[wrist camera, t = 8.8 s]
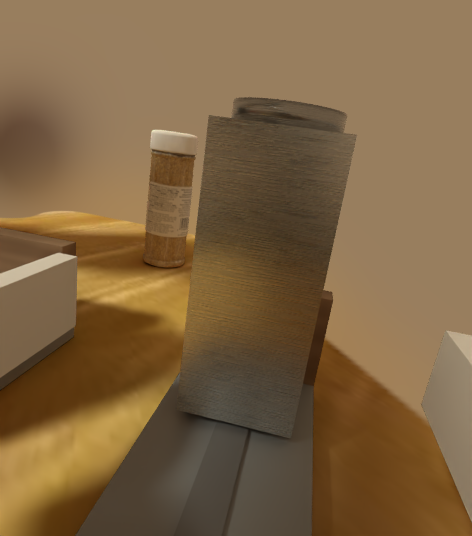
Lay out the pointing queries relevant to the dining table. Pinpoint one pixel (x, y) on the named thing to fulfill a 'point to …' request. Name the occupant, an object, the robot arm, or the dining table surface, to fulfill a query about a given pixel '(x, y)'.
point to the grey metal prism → (261, 259)
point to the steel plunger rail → (214, 472)
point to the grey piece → (18, 254)
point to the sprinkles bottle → (169, 197)
